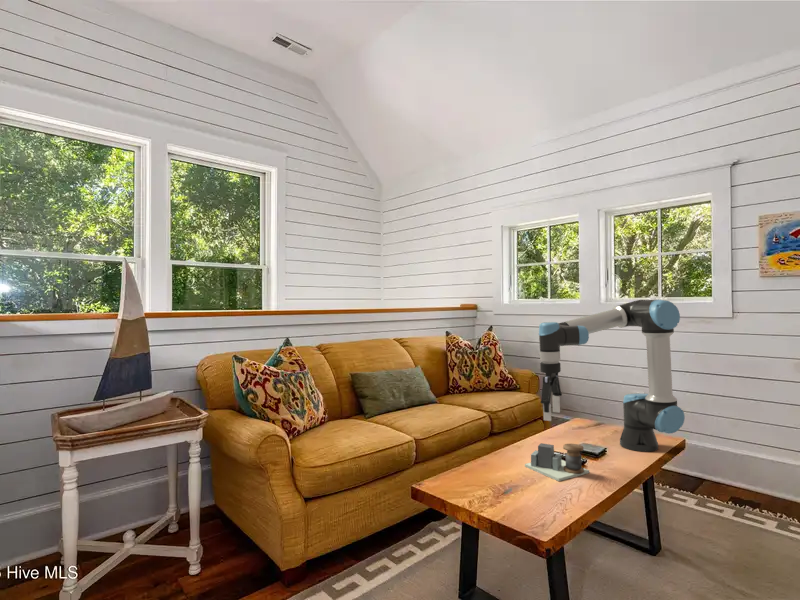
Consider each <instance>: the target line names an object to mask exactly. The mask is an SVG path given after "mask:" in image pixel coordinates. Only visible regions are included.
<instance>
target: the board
mask: <svg viewBox="0 0 800 600" xmlns="http://www.w3.org/2000/svg"><path fill="white" fill-rule="evenodd" d="M561 463H562V466H561V467H560V469H559V470H558V471H555V470H553V468H552V469H550V468H544V467H538V465H537V466H536V467H533V466H531V462H528V463H524V467H525V468H527V469H529V470H532V471H534V472H537V473H539V474H541V475H543V476H545V477H547V478H550V479H552V480H555V481H557V482H561V481H565V480H568V479H572V478H576V477H579V476H583V475H587V474H590V469H587V468H584V467H583V468H584V472H583V473H581V474H572V473H568V472H566V471H564V466H566V460H564V459H561Z"/></svg>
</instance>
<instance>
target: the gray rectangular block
mask: <svg viewBox="0 0 800 600" xmlns="http://www.w3.org/2000/svg"><path fill="white" fill-rule="evenodd" d="M554 447H555V446H554V444H549V443H548V444H547V443H540V444H539V445H537V451H538V467H544V468H550V469H552V468H553V457H554V456H555V448H554Z"/></svg>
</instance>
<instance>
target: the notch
mask: <svg viewBox="0 0 800 600" xmlns="http://www.w3.org/2000/svg"><path fill="white" fill-rule="evenodd" d="M561 460H562V454H561V453H556V454H554V457H553V470H555V471H558V470H559V469H560V467H561V466H562V463H561ZM530 463H531V466H533V467H536V466H537V465H538V449H537V450H534V451H533V452H532V453H531V454H530Z"/></svg>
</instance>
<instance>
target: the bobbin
mask: <svg viewBox="0 0 800 600" xmlns="http://www.w3.org/2000/svg"><path fill="white" fill-rule="evenodd" d="M562 446H563V447H562V448H563V450H565V451H566V452H565V461H566V466H564V471H566V472H568V473H572V474H581V473H583V472H584V467H583V466H582V454H581V453H580V452H583V451H584V446H583V445H581V444H577V443H565V444H563V445H562Z"/></svg>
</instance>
